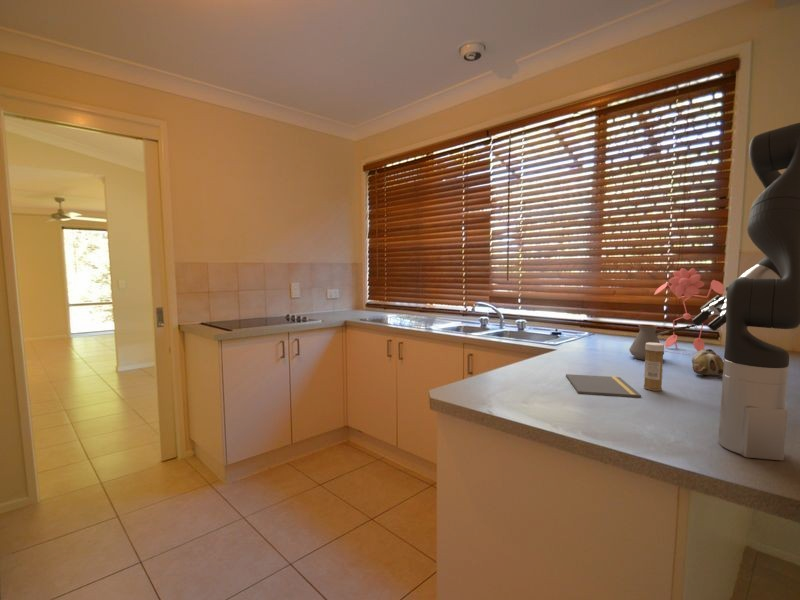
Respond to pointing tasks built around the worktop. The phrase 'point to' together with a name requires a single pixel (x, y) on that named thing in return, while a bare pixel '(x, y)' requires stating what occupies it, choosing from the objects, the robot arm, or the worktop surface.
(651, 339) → the coffee pot
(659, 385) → the sprinkles bottle
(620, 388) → the line mat
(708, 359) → the ceramic sculpture
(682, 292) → the pink flower figure
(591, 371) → the worktop surface
